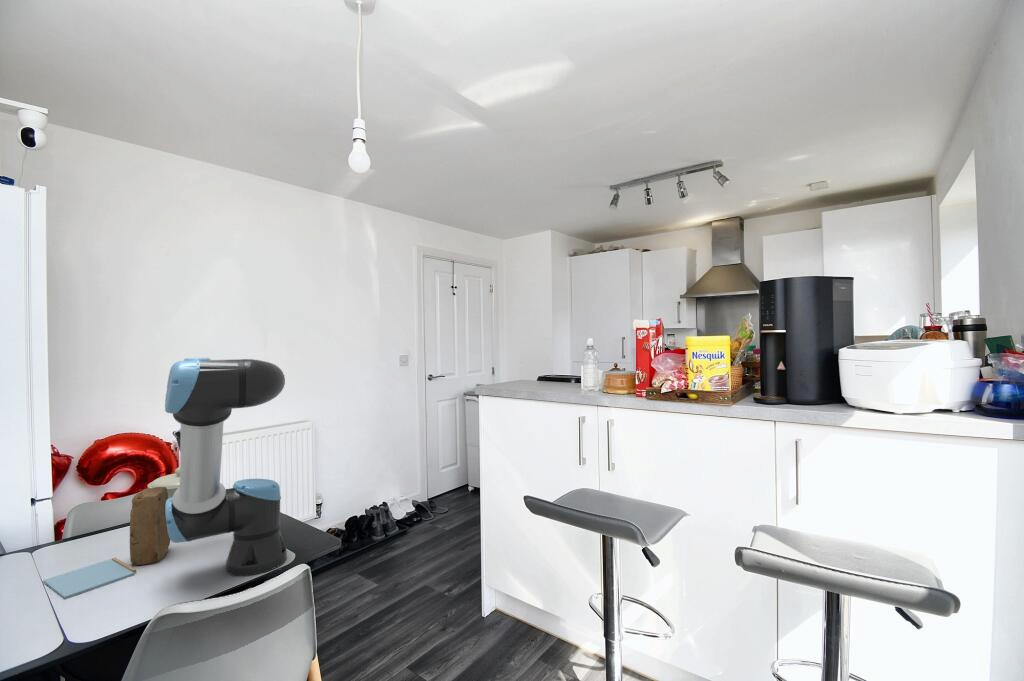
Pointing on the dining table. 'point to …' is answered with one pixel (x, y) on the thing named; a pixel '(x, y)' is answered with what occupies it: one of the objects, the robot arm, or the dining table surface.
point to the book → (89, 577)
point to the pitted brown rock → (148, 526)
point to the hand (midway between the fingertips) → (196, 481)
